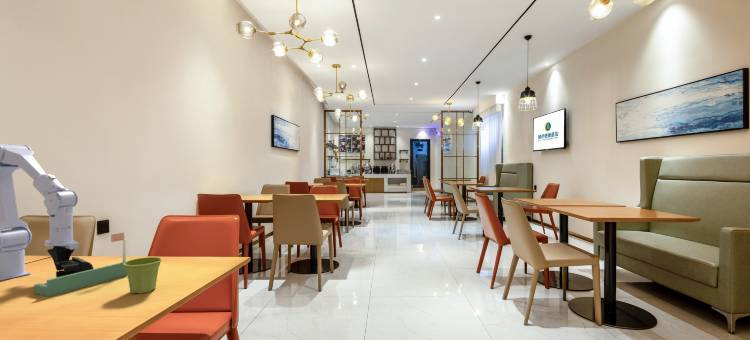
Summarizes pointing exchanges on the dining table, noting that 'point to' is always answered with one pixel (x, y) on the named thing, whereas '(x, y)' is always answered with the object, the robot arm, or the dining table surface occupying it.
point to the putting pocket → (85, 275)
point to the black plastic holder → (73, 266)
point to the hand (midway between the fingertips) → (61, 269)
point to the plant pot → (142, 274)
